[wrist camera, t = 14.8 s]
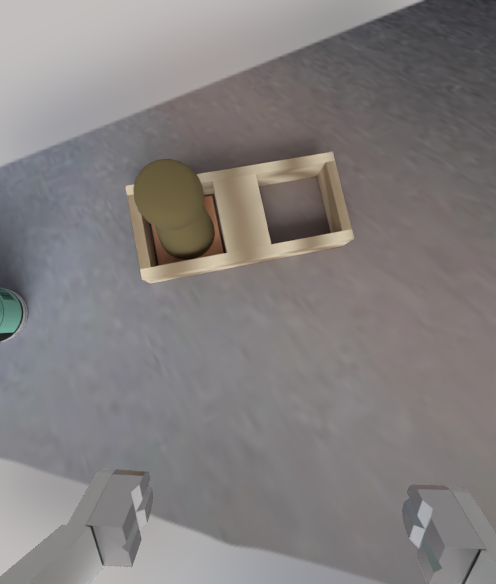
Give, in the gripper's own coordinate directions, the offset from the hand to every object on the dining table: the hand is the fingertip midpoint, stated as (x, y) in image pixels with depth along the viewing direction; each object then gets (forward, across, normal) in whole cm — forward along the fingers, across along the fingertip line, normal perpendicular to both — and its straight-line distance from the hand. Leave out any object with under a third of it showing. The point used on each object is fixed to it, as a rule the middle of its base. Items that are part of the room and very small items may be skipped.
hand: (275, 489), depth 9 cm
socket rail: (+27, +3, -4) cm, 27 cm away
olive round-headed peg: (+25, +9, -3) cm, 27 cm away
